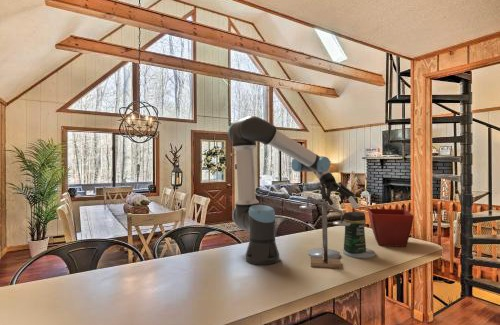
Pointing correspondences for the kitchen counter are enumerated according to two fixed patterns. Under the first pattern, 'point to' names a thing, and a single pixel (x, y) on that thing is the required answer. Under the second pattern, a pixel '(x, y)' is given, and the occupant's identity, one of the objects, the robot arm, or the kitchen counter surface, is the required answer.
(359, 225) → the coffee jar
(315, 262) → the balance
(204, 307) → the kitchen counter surface
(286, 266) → the kitchen counter surface
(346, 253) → the right dish
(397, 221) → the plant pot
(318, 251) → the left dish
